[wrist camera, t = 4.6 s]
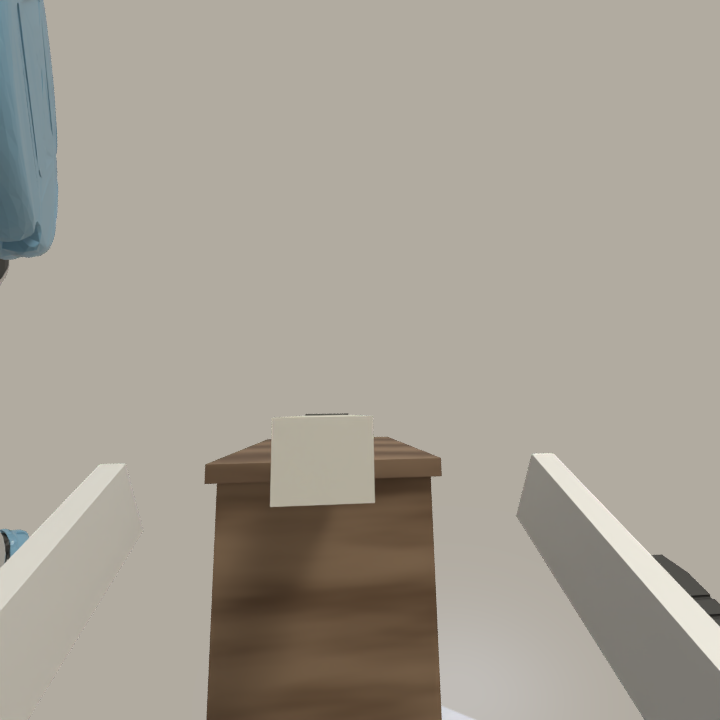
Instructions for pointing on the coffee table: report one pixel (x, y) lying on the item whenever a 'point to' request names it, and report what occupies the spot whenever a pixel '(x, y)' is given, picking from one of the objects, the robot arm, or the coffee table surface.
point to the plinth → (324, 596)
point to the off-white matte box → (322, 460)
